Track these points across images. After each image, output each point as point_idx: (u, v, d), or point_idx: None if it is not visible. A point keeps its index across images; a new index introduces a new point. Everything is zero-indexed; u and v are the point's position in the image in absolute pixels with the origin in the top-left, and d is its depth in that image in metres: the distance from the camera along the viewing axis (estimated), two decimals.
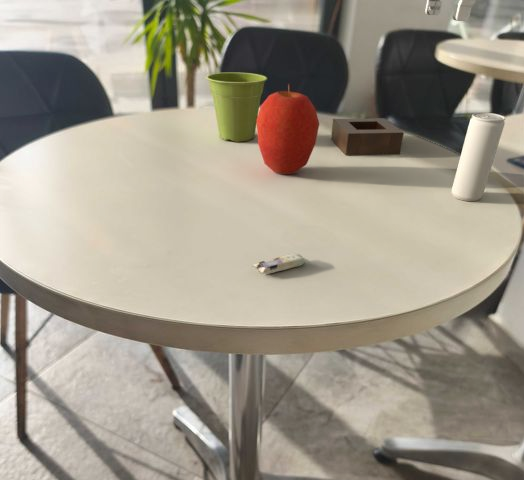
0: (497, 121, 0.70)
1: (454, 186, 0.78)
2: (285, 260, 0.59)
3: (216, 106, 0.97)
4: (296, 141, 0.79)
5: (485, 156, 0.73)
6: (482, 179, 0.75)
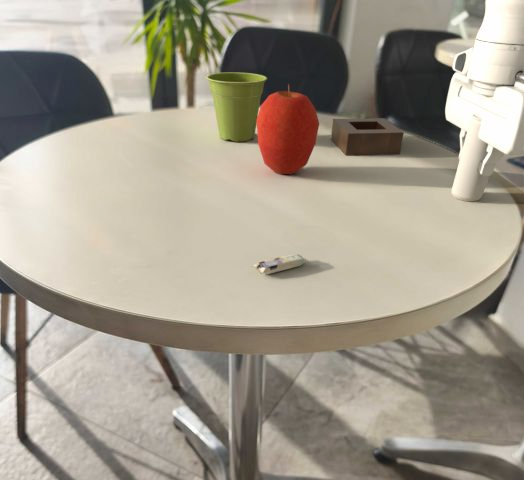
0: None
1: (454, 186, 0.78)
2: (285, 260, 0.59)
3: (216, 106, 0.97)
4: (296, 141, 0.79)
5: (485, 156, 0.73)
6: (482, 179, 0.75)
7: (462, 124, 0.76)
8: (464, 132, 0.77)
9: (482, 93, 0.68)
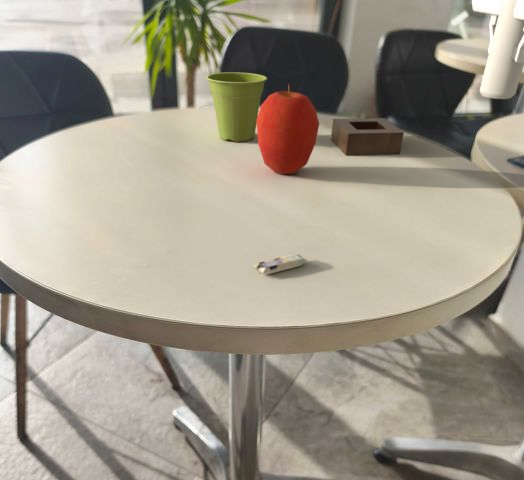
0: None
1: (483, 82, 0.69)
2: (285, 260, 0.59)
3: (216, 106, 0.97)
4: (296, 141, 0.79)
5: (520, 40, 0.64)
6: (516, 70, 0.66)
7: (493, 8, 0.67)
8: (495, 18, 0.68)
9: None
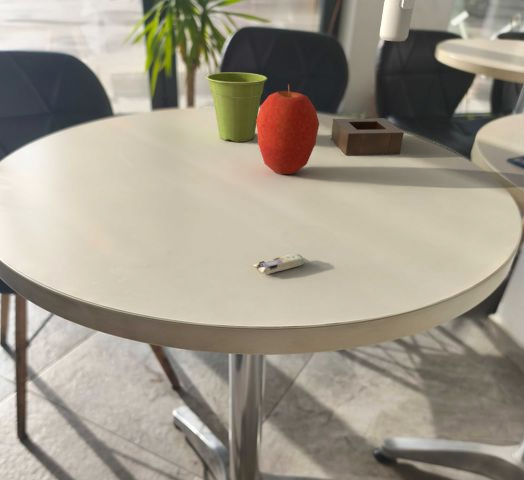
0: None
1: (381, 27, 0.84)
2: (285, 260, 0.59)
3: (216, 106, 0.97)
4: (296, 141, 0.79)
5: None
6: (405, 16, 0.81)
7: None
8: None
9: None
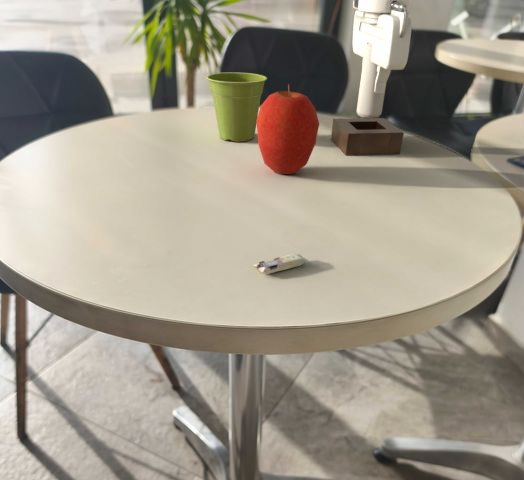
0: None
1: (357, 106, 0.95)
2: (285, 260, 0.59)
3: (216, 106, 0.97)
4: (296, 141, 0.79)
5: None
6: (377, 98, 0.92)
7: (362, 53, 0.93)
8: None
9: (370, 22, 0.85)
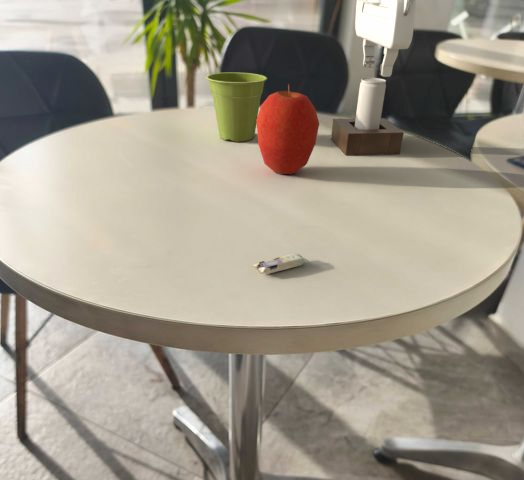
0: (378, 83, 0.91)
1: None
2: (285, 260, 0.59)
3: (216, 106, 0.97)
4: (296, 141, 0.79)
5: (372, 112, 0.94)
6: None
7: (365, 34, 0.91)
8: (365, 41, 0.93)
9: (373, 2, 0.84)
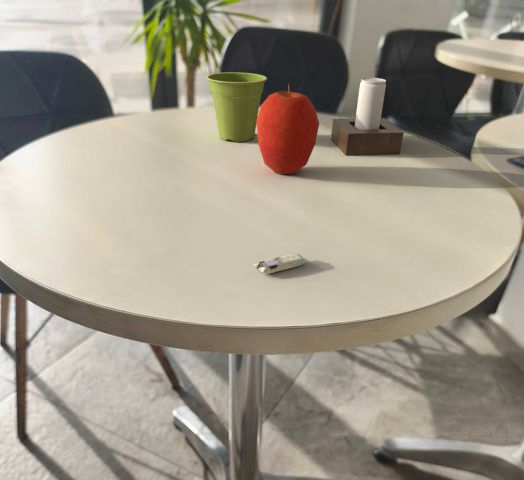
0: (378, 83, 0.91)
1: None
2: (285, 260, 0.59)
3: (216, 106, 0.97)
4: (296, 141, 0.79)
5: (372, 112, 0.94)
6: None
7: None
8: None
9: None
